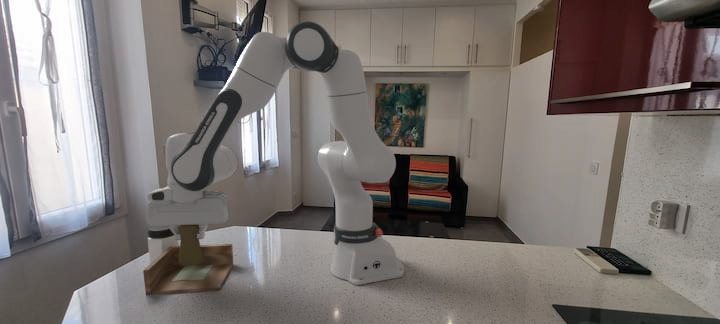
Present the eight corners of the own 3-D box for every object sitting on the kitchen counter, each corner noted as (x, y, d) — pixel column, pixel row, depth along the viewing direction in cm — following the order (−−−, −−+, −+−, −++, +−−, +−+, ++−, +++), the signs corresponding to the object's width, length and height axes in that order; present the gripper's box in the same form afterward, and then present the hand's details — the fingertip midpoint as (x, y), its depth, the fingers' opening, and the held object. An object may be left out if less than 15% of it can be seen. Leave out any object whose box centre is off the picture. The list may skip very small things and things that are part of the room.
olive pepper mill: (173, 264, 83) (170, 226, 81) (189, 254, 89) (187, 218, 87) (192, 266, 82) (190, 228, 80) (207, 256, 88) (205, 220, 86)
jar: (154, 257, 97) (151, 222, 95) (183, 253, 100) (180, 219, 98) (147, 271, 89) (143, 232, 87) (179, 266, 92) (176, 229, 90)
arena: (233, 264, 94) (232, 243, 93) (219, 289, 80) (217, 266, 79) (171, 267, 91) (169, 246, 90) (145, 294, 77) (143, 270, 76)
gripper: (229, 187, 87) (231, 233, 89) (153, 189, 84) (157, 236, 86) (223, 193, 81) (225, 241, 83) (140, 194, 78) (145, 245, 80)
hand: (190, 238), depth 85 cm, fingers closed on olive pepper mill, 4 cm apart
